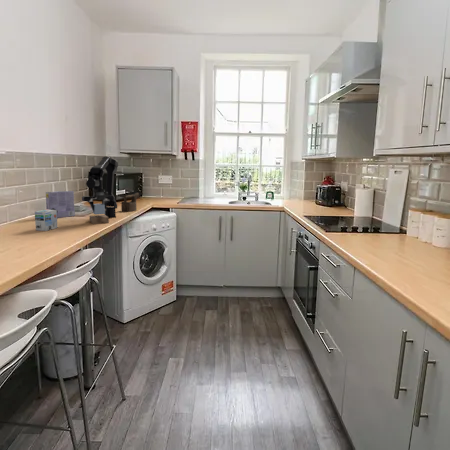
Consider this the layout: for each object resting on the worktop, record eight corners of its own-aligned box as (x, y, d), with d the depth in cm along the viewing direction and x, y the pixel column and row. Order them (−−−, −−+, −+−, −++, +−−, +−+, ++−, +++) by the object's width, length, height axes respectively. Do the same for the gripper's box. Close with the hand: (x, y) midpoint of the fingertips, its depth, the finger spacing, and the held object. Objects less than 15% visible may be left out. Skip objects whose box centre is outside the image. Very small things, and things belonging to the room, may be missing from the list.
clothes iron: (142, 209, 292) (142, 192, 290) (128, 212, 278) (128, 194, 276) (134, 208, 296) (134, 192, 293) (120, 211, 282) (120, 193, 279)
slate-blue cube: (102, 212, 238) (102, 203, 237) (104, 213, 233) (104, 204, 232) (92, 213, 234) (92, 204, 233) (95, 214, 229) (94, 205, 228)
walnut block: (105, 220, 241) (105, 214, 241) (108, 223, 233) (108, 217, 232) (89, 221, 237) (89, 215, 236) (92, 224, 228) (92, 218, 227)
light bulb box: (45, 231, 203) (44, 212, 201) (35, 230, 204) (33, 211, 202) (58, 227, 213) (57, 209, 211) (48, 227, 215) (46, 209, 213)
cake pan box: (72, 214, 259) (71, 190, 256) (76, 215, 256) (75, 190, 253) (46, 218, 243) (44, 191, 240) (50, 219, 241) (48, 192, 237)
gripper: (85, 188, 219) (86, 214, 222) (116, 187, 229) (117, 212, 232) (81, 187, 228) (82, 211, 231) (111, 186, 238) (111, 210, 241)
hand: (98, 211), depth 233 cm, fingers closed on slate-blue cube, 6 cm apart
